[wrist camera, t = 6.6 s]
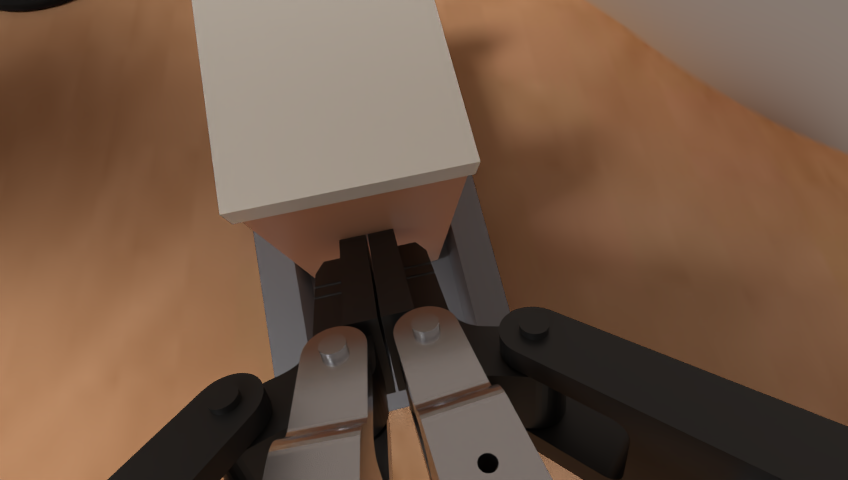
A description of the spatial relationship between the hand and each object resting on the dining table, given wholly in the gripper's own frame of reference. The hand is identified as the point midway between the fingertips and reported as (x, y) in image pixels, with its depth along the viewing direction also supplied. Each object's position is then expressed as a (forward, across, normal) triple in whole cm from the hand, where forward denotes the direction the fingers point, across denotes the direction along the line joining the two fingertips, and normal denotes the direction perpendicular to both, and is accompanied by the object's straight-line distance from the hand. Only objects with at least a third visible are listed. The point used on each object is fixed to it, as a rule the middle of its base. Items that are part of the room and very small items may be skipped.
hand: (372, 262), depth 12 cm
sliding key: (+6, 0, +1) cm, 6 cm away
